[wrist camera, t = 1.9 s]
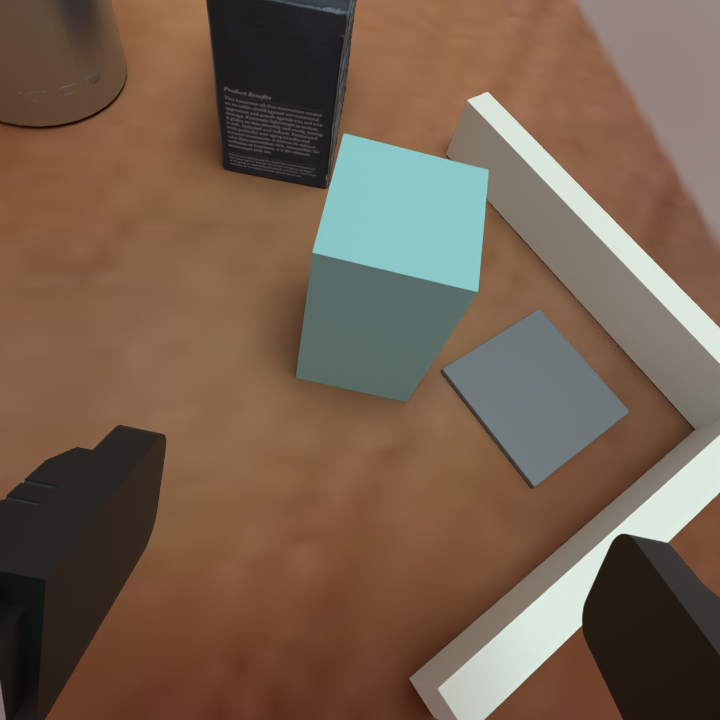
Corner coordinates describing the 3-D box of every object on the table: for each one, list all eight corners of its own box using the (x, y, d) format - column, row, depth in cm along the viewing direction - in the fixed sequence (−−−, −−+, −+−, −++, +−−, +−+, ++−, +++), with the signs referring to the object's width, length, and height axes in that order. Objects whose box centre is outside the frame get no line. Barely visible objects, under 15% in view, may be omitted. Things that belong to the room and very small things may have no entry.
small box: (249, 49, 36) (245, -153, 27) (348, 70, 37) (378, -120, 27) (215, 170, 31) (195, -24, 22) (329, 191, 32) (358, 11, 23)
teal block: (295, 377, 27) (312, 252, 18) (318, 284, 29) (343, 133, 20) (406, 402, 27) (478, 292, 18) (420, 308, 29) (488, 170, 21)
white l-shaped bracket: (156, 281, 28) (140, 229, 24) (464, 146, 35) (487, 91, 32) (433, 717, 21) (467, 735, 18) (735, 438, 29) (802, 412, 25)
